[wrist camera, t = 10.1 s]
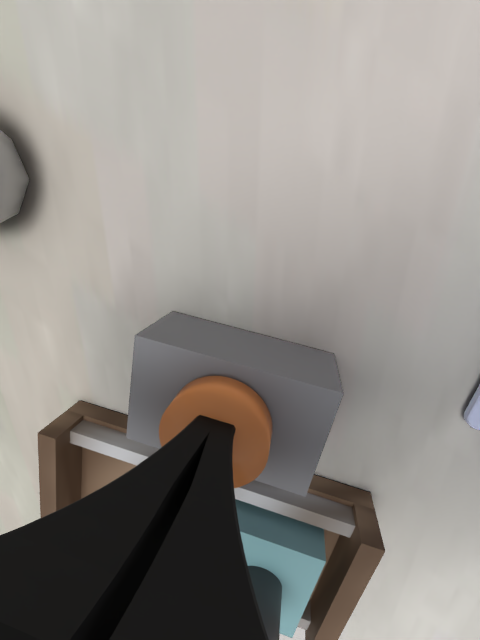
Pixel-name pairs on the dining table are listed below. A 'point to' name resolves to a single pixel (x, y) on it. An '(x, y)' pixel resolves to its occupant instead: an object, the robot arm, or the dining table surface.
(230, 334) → the grey rectangular block
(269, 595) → the blue block with peg
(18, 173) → the salt shaker
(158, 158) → the dining table surface
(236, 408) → the button
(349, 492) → the rail board
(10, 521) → the dining table surface
